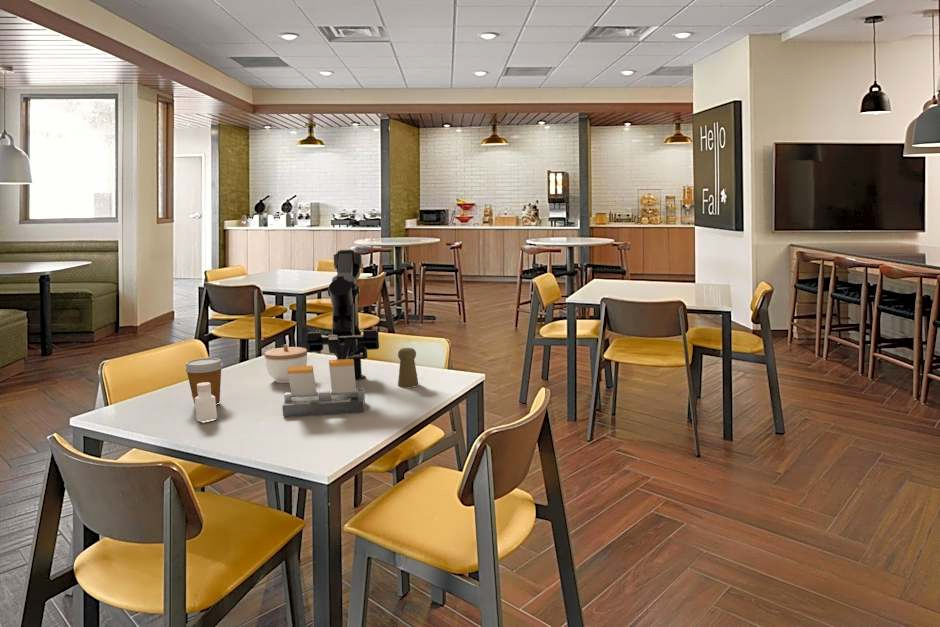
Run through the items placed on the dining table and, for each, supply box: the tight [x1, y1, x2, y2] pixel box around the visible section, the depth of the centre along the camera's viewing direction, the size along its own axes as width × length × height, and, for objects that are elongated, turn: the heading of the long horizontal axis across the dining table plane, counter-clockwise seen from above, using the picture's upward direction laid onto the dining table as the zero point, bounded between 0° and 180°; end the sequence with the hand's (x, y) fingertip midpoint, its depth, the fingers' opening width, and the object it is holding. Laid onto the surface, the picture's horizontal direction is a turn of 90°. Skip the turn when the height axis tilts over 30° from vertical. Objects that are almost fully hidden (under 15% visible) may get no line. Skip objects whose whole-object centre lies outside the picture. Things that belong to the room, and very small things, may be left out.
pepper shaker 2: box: [194, 382, 218, 421], centre depth 166 cm, size 4×4×10 cm
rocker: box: [328, 359, 358, 395], centre depth 171 cm, size 1×7×10 cm, turn 97°
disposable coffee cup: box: [184, 357, 224, 405], centre depth 180 cm, size 10×10×12 cm
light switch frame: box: [282, 388, 366, 417], centre depth 173 cm, size 9×20×5 cm, turn 96°
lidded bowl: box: [264, 344, 308, 384], centre depth 204 cm, size 13×13×11 cm
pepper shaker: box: [397, 347, 419, 388], centre depth 195 cm, size 6×6×11 cm
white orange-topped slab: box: [287, 365, 319, 397], centre depth 169 cm, size 1×7×10 cm
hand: (342, 368), depth 171 cm, fingers closed
